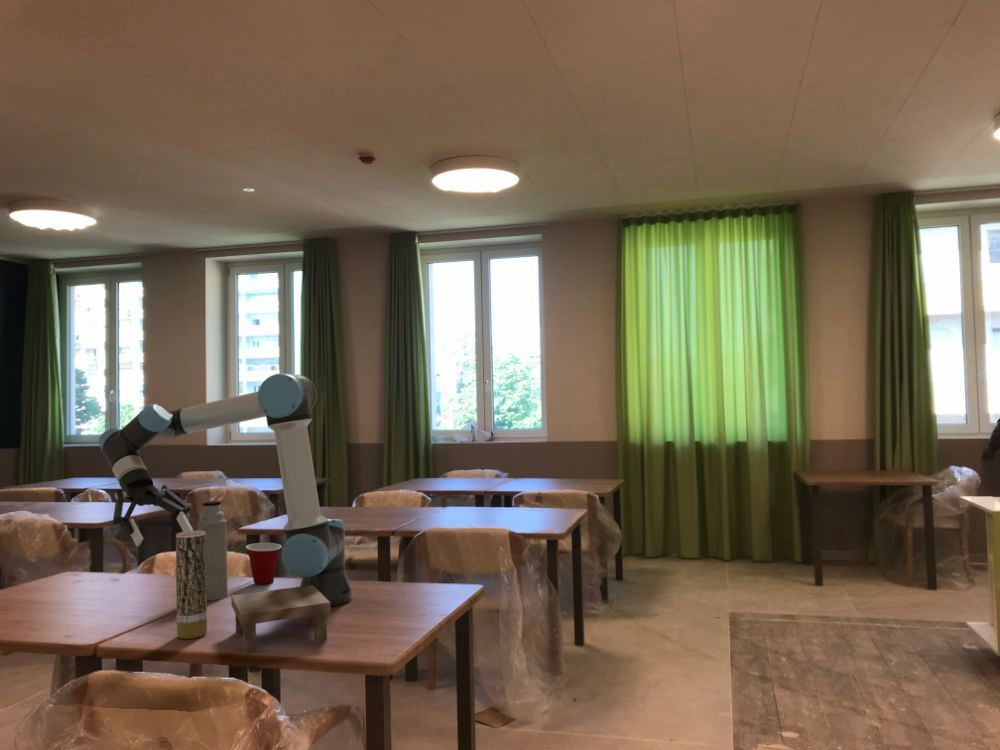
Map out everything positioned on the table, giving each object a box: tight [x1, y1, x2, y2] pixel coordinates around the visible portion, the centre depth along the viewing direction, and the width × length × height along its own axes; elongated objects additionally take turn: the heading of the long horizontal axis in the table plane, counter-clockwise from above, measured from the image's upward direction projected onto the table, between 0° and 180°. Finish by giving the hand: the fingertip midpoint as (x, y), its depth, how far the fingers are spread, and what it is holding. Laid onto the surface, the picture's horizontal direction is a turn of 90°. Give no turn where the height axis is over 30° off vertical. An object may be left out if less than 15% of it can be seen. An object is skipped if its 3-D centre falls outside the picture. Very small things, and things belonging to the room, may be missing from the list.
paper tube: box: [175, 530, 208, 640], centre depth 185 cm, size 7×7×25 cm
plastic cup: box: [245, 542, 283, 586], centre depth 238 cm, size 11×11×12 cm
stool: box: [230, 585, 331, 655], centre depth 182 cm, size 20×20×9 cm
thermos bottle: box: [197, 500, 229, 601], centre depth 223 cm, size 8×8×28 cm
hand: (165, 538), depth 192 cm, fingers open, 13 cm apart
